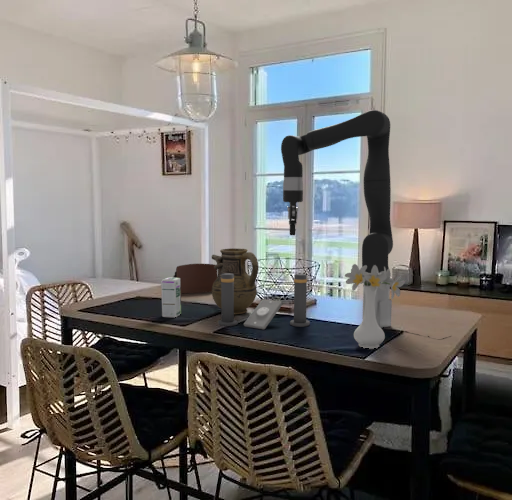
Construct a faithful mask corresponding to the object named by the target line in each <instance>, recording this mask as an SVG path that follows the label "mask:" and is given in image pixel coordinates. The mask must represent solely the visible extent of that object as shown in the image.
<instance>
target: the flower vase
mask: <svg viewBox="0 0 512 500" xmlns="http://www.w3.org/2000/svg"><path fill="white" fill-rule="evenodd" d="M366 269H367V265H365V266H363V267H362V266H361V268H359V266H358V265H357V264H356V263H353V264H352V266H351V269H350V272H347V273H345V275H344V277H345V278H347V279H346V280H345V284H346V285H352V287H351V289H352V292H353V291H356V289H357V288H358V286H359V285H360V284H362V285H363V283H364V285H363V286H362V288H363V287H364V291H365V312H364V318H363V317H362V321H361V323H360V325H359V326H358V327H357V328H355V330H354V332H353V338H354V340H355V341H356V342H357V343H358V346H359V347H360V348H361V347H363V348H362V349H365V348H369V349H368V350H375V349H374V348H376V349H379V348H378V347H380V344H382V343H383V341H384V340H385V338H386V336H385V332H384V330H383V328H380V327H379V325H378V323H377V321H376V316H375V296H376V291H377V288H380V289H382V290H386V287H387V284H388V285H390V291H391V292H390V293H391V296H390V298H391V300H393V299H394V298H395V295H396V296H397V297H400V296H401V290H400V288H401V287H402V286H404V285H405V283H406V279H405V280H401V279H402V277H403V276H402V274H401V275H399V277H397V279H393V278H391V269H390V268H389V269H388V270H387V272H386V268H385V267H384V271H382V272H380V273H378V268H377V266H376V265H374V266H373V268H372V270H371V273H368V272H365V270H366ZM388 278H390V279H388ZM365 279H366V280H367V281H368V284H367V282H366V281H365Z"/></svg>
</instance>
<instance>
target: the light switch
mask: <svg viewBox="0 0 512 500" xmlns="http://www.w3.org/2000/svg"><path fill="white" fill-rule="evenodd" d="M282 306H283V301H279V300H272V299H266V298H264V299H262V300H261V301H260V302H259V303H258V305H257V306H256V307H255V309H254V310H253V311H252V312H251V313H250V315H249V316H248V318H247V319H246V320H245V321H244V323H243V326H244V327H245V328H252V329H253V328H254V329H259V330H265V329H266V328H267V327H268V325H269V324H270V323H271V321H272V320H273V318H274V317H275V316H276V314H277V313H278V311H279V310H280V309H281V307H282Z"/></svg>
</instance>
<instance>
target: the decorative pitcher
mask: <svg viewBox="0 0 512 500" xmlns="http://www.w3.org/2000/svg"><path fill="white" fill-rule="evenodd" d="M219 251H220V254H221V255H218V254H212V255H211V259H212V260H213V261H215V262H216V264H214V265H215V266H214V268H215V269H217V279H216V280H215V282H214V283H213V286H212V292H211V295H212V300H214V304H216V305H217V307H218V308H219V309H221V274H225V273H230V274H234V315H243V314H245V313H247V312H248V308H249V307H251V305H253V303H254V301H255V300H256V297H257V292H258V291H257V289H258V288H257V285H256V280H257V278H258V273H259V262H258V258H257V257H256V255H255V254H254V253H253V252H251V251H248V249H247V248H234V247H233V248H231V247H230V248H222V249H220V250H219ZM247 260H249V261H250V263H251V266H252V267H251V268H252V269H251V274H248V272H247V271H246V270H247V269H246V268H247V267H246V261H247Z"/></svg>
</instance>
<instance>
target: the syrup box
mask: <svg viewBox="0 0 512 500" xmlns="http://www.w3.org/2000/svg"><path fill="white" fill-rule="evenodd" d="M160 283H161V316H162V318H175V317H176V318H177V317H179V316H180V314H181V315H182V294H181V286H180V278H176V277H172V276H170V277H166V278H163V279H161V281H160Z"/></svg>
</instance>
